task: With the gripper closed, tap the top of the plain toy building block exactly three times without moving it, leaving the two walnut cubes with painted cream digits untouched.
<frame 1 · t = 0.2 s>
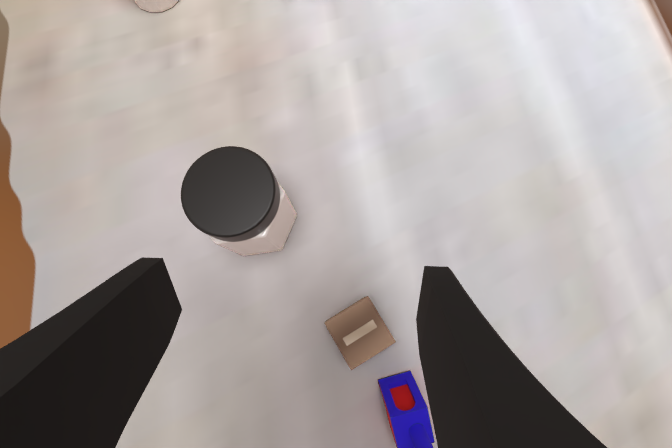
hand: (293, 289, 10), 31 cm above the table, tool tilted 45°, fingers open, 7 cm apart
walnut cube one: (357, 328, 40), on the table
jar: (259, 221, 42), on the table
toy building block: (401, 404, 38), on the table
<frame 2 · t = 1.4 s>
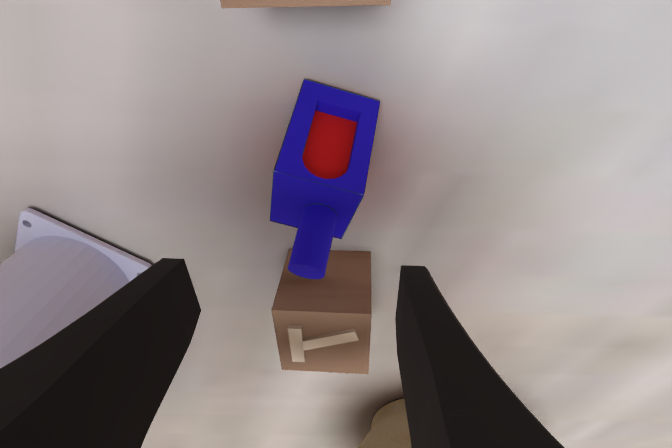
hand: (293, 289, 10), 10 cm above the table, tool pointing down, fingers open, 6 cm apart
walnut cube seven: (330, 279, 23), on the table
planter bowl: (424, 419, 32), on the table
toy building block: (326, 148, 18), on the table
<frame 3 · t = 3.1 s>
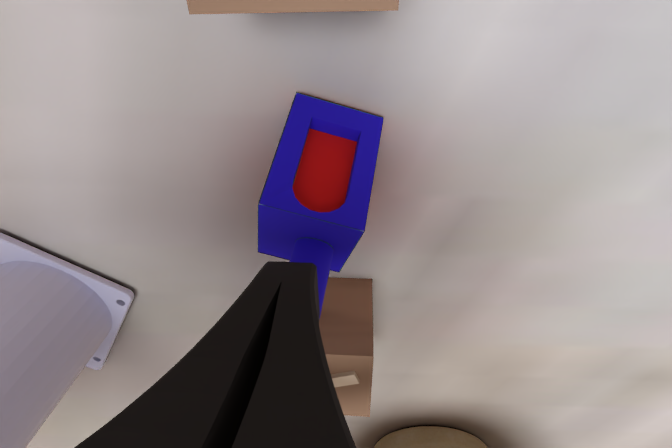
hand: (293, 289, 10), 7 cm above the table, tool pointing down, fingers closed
walnut cube seven: (328, 307, 21), on the table
toy building block: (323, 168, 16), on the table
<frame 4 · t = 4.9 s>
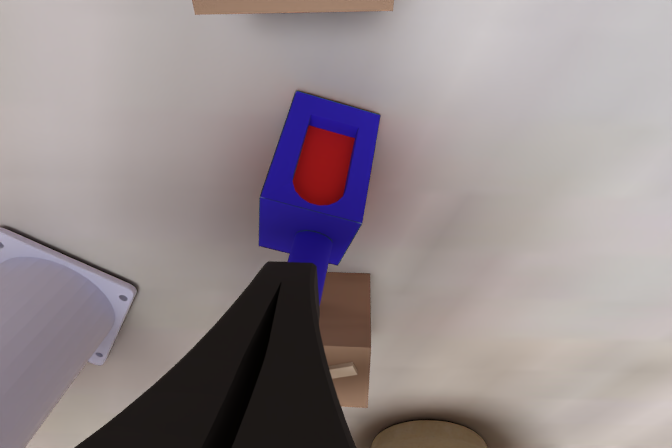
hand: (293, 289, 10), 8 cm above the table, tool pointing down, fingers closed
walnut cube seven: (327, 302, 22), on the table
planter bowl: (426, 442, 31), on the table
toy building block: (322, 164, 17), on the table
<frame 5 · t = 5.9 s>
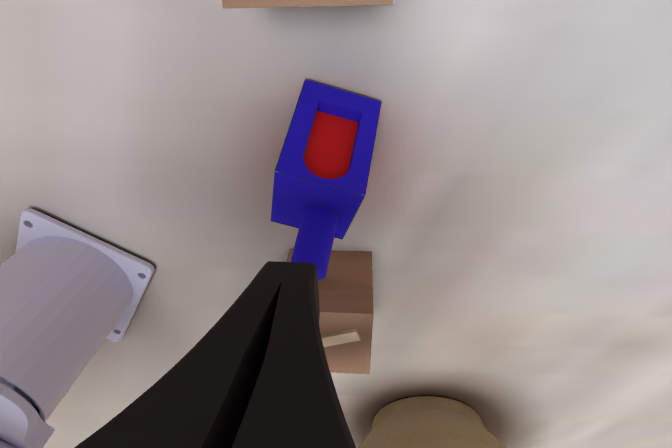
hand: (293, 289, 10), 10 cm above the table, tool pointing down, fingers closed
walnut cube seven: (331, 279, 23), on the table
planter bowl: (424, 419, 32), on the table
toy building block: (327, 148, 18), on the table
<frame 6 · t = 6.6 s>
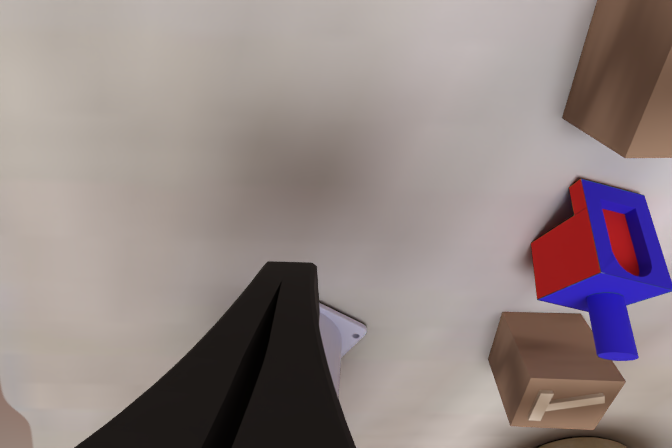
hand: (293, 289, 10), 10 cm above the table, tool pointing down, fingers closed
walnut cube one: (638, 58, 16), on the table
walnut cube seven: (531, 337, 25), on the table
toy building block: (570, 229, 21), on the table
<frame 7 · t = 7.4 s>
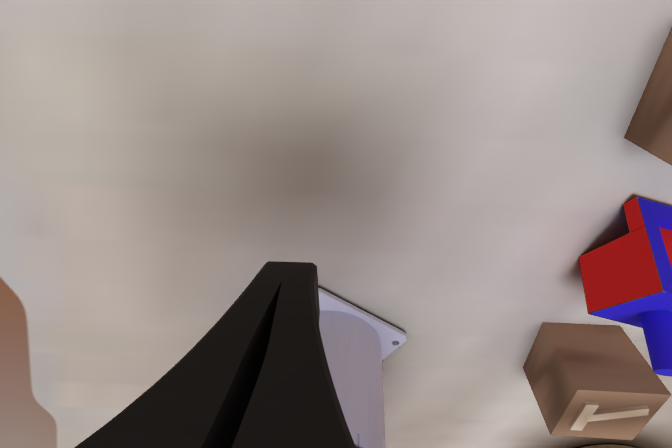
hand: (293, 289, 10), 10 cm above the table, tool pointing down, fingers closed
walnut cube seven: (567, 347, 26), on the table
toy building block: (619, 244, 21), on the table
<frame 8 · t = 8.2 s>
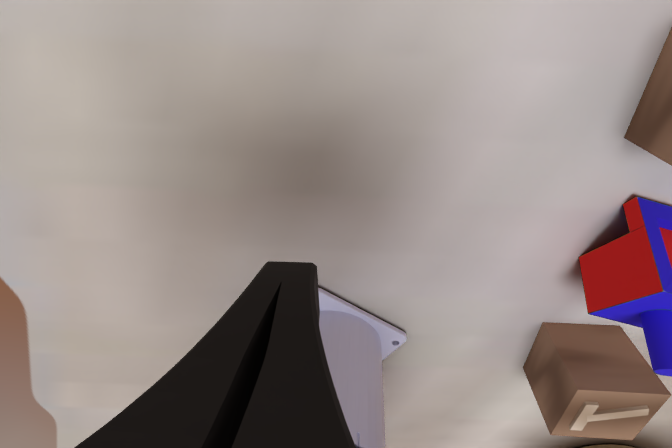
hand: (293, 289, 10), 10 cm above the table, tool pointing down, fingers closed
walnut cube seven: (567, 347, 26), on the table
toy building block: (619, 244, 21), on the table
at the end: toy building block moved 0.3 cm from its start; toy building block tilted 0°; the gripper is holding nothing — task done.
